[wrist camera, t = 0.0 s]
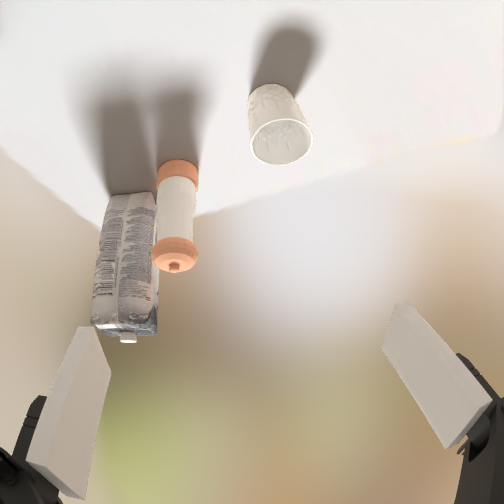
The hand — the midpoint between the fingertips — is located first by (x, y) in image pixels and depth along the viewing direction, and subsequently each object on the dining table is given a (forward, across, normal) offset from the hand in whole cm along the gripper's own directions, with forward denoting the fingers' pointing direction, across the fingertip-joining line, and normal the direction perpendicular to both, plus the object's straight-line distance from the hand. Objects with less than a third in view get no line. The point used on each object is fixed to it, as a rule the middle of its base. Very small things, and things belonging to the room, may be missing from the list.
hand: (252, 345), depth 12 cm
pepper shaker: (+45, -7, 0) cm, 45 cm away
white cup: (+36, +8, +12) cm, 39 cm away
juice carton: (+49, -17, -6) cm, 52 cm away
